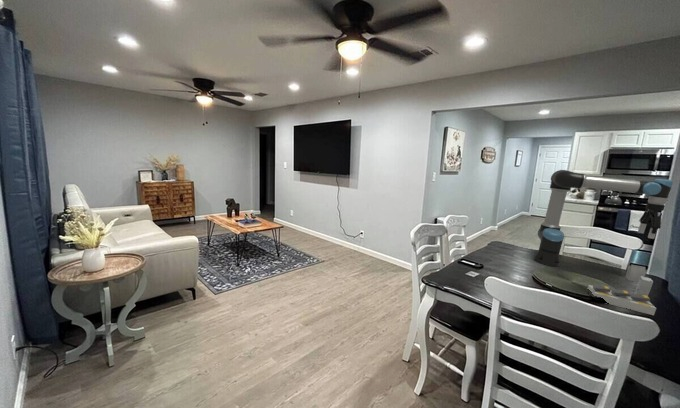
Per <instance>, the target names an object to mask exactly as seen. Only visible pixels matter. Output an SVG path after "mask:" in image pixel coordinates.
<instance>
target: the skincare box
mask: <svg viewBox="0 0 680 408" xmlns="http://www.w3.org/2000/svg"><path fill="white" fill-rule="evenodd" d="M653 284H654V280H652V279H651V278H650V277H646V276H644V277H643V276H640V279H639V281H638V282H637V284H636V287H635V289H634V292H633V294H637V295H646V296H648V297H649V294H650V291H651V290H652V286H653Z"/></svg>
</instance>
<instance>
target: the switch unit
mask: <svg viewBox="0 0 680 408" xmlns="http://www.w3.org/2000/svg"><path fill="white" fill-rule="evenodd" d="M587 289H589V290H590V291H591V292H592V294H593V295H594V296H597V297H601V298H603V299H604V300H605V301H606V302H607V303H609V304H608V305H612V306H616V307H619V308H623V309H626V308H627V310H630V309H631V311H635V312H637V313H638V312H639V313H643V314H646V315H651V316H655V313H656V310H657V307H655V305H654V304H653V303H651V301H650V302H648V301H640V300H633V299H632V298H631V297H627V296H618V295H614V294H613V293H612V292H611V291H610V292H604V291H596V290H595V289H594V288H593V285H591V284H588V286H587ZM607 303H606V304H607Z"/></svg>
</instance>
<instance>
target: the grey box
mask: <svg viewBox="0 0 680 408" xmlns="http://www.w3.org/2000/svg"><path fill="white" fill-rule="evenodd" d="M640 276H643V277H646V266H641V265H636V264H630V266H629V267H628V268H627V271H626V274H625V276H624V279H626V280H627V281H631V282H635V283H638V281H639V279H640Z"/></svg>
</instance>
